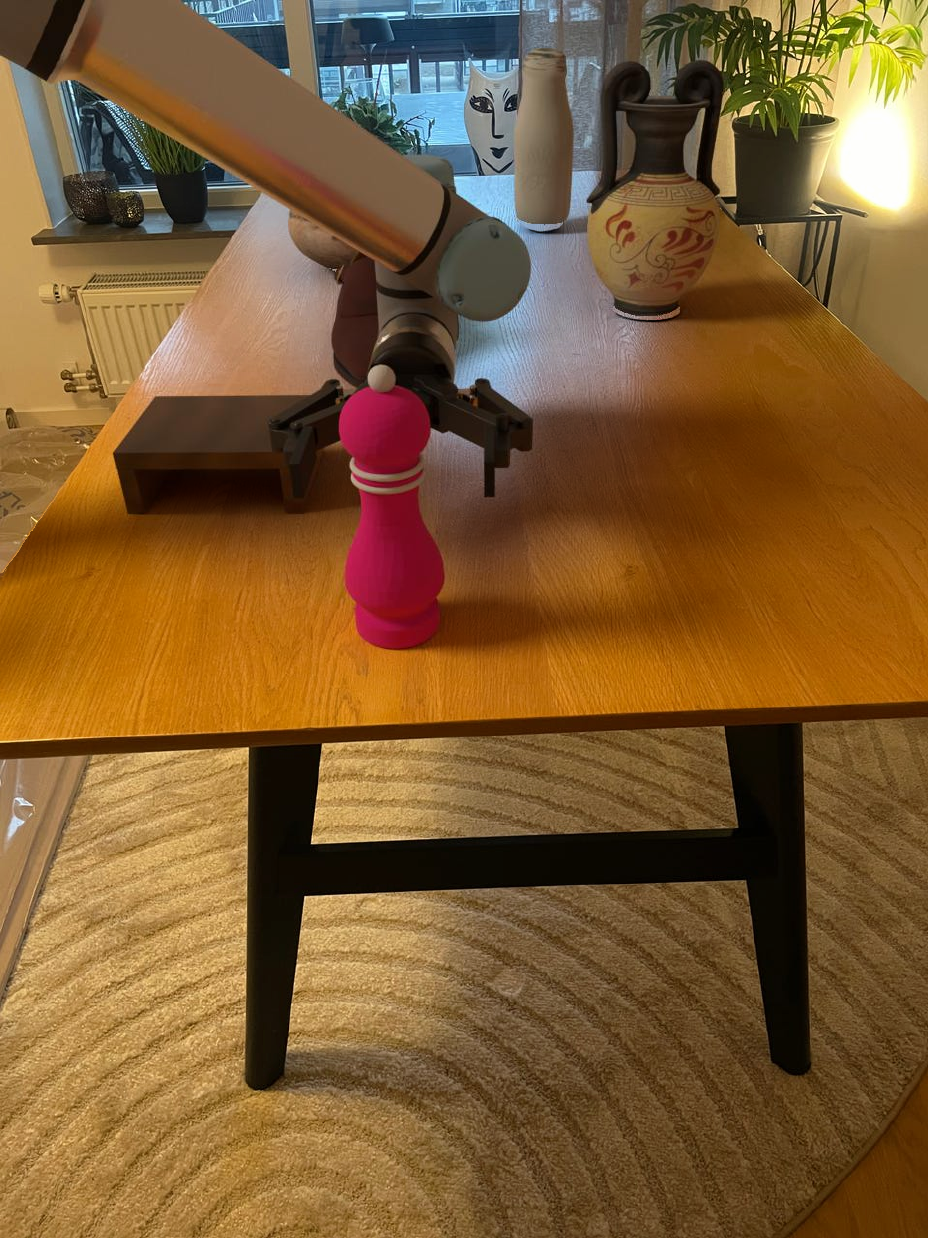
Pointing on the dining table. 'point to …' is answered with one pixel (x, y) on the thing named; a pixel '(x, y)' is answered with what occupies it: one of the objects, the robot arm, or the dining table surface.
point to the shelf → (202, 443)
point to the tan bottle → (543, 140)
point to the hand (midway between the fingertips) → (392, 481)
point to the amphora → (655, 189)
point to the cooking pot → (319, 243)
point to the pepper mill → (390, 516)
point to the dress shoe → (355, 319)
